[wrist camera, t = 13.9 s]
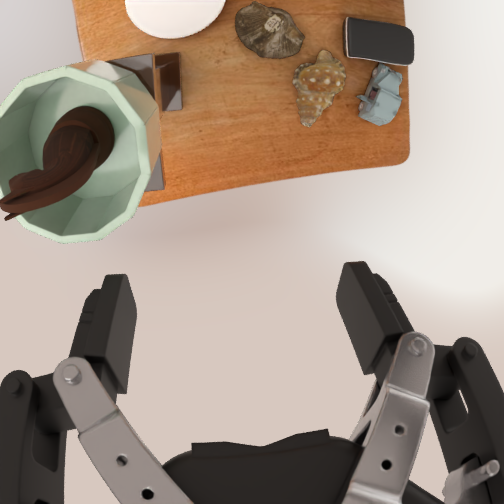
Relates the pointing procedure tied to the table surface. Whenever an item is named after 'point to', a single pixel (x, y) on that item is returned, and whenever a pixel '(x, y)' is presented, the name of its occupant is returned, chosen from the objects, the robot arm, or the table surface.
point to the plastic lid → (173, 16)
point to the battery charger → (378, 41)
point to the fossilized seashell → (268, 31)
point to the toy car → (381, 96)
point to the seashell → (317, 86)
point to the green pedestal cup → (125, 145)
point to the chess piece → (63, 161)
